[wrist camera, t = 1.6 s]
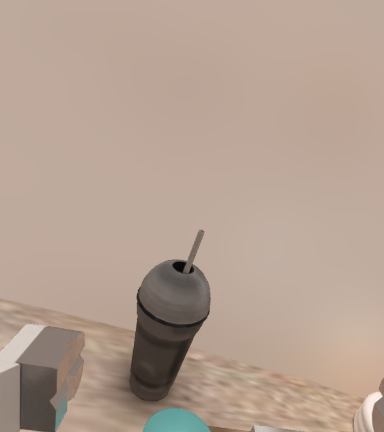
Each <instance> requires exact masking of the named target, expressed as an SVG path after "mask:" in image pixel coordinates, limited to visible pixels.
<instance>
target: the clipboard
mask: <svg viewBox="0 0 384 432" xmlns="http://www.w3.org/2000/svg"><path fill="white" fill-rule="evenodd" d="M207 427H208V428H209V430H210V432H304V431H297V430H289V429H281V428H274V427H266V426H258V425H253V427H252V429H251V431H244V430H236V429H228V428H220V427H213V426H207Z"/></svg>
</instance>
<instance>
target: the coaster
mask: <svg viewBox="0 0 384 432" xmlns="http://www.w3.org/2000/svg"><path fill="white" fill-rule="evenodd" d="M380 398H382V395H381V392H375V393H372V394H370V395H369V396H367V397H366V398H365V400H364V402H363V403H362V404H361V406H360V408H359V409H358V411H357V412H356V414H355V417H354V424H353V425H354V432H374V429H373V426H372V411H373V407H374V403H375V402H377V401H378V400H379V399H380Z"/></svg>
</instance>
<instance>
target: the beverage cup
mask: <svg viewBox="0 0 384 432" xmlns="http://www.w3.org/2000/svg"><path fill="white" fill-rule="evenodd" d="M203 235H204V231H203V230H199V232H198V234H197V237H196V240H195V242H194V245H193V247H192V250H191V253H190V255H189V258H188V261H184V260H168V261H165V262H163V263H160V264H159V265H157V266H155V267H154V268H153V269H152V270H151V271H150V272H149V273H148V274H147V275H146V277H145V278H144V280H143V282H142V284H141V286H140V288H139V290H138V293H137V315H138V318H137V326H136V333H135V341H134V349H133V356H132V364H131V378H130V386H131V389H132V390H133V392H134V393H135V394H136V395H137V396H138V397H140V398H142V399H144V400H147V401H157V400H160V399H162V398H164V397H165V396H166V395H167V394H168V391H169V389H170V387H171V386H172V384H173V382H174V380H175V378H176V376H177V373H178V371H179V369H180V367H181V365H182V362H183V360H184V358H185V356H186V354H187V351H188V349H189V347H190V345H191V343H192V340H193V338H194V336H195V334H196V333H197V332H198V330H199V329H200V327H201V326H202V324H203V322H204V321H205V320H206V319H207V316H208V315H209V311H210V310H209V309H210V308H209V307H210V299H211V298H210V288H209V284H208V281H207V280H206V278H205V276H204V274H203V273H202V272H201V270H200V269H199V268H198V267H196V266H195V265H193V264H192V263H193V260H194V258H195V256H196V253H197V250H198V248H199V245H200V243H201V240H202V238H203Z"/></svg>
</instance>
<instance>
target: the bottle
mask: <svg viewBox="0 0 384 432" xmlns="http://www.w3.org/2000/svg"><path fill="white" fill-rule="evenodd" d="M143 432H210V430H209V428H208V427H207V425H206V424H205V423H204V422H203V421H202V420H201V419H200V418H199V417H198V416H196V415H195V414H193V413H192V412H189V411H187V410H184V409H179V408H169V409H165V410H162V411H159V412H157V413H156V414H155V415H153V416H152V417H151V418H150V419H149V420H148V422H147V423H146V425H145V427H144V429H143Z"/></svg>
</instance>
